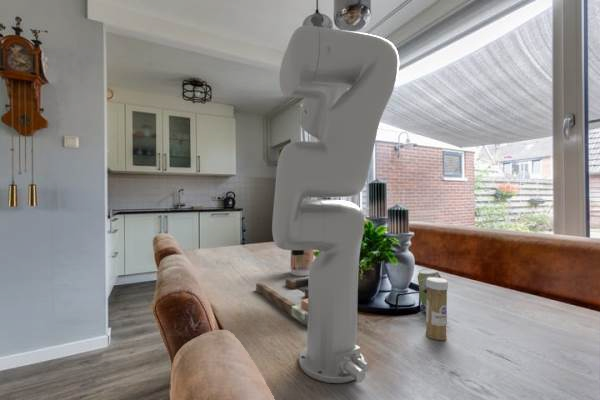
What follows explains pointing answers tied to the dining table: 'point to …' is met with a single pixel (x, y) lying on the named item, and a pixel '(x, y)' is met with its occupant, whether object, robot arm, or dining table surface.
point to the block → (304, 304)
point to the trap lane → (283, 302)
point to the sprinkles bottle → (436, 308)
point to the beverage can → (422, 284)
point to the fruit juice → (301, 263)
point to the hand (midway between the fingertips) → (297, 254)
